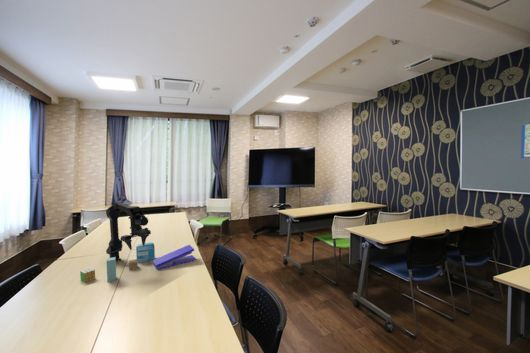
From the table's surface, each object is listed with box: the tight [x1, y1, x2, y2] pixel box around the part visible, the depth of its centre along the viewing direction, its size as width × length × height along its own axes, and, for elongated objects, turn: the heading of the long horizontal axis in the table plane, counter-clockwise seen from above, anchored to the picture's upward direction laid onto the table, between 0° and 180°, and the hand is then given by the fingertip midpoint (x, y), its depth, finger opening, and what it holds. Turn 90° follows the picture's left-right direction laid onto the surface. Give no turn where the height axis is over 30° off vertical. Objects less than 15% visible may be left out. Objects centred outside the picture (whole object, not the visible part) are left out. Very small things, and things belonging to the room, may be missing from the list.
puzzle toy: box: [79, 267, 96, 283], centre depth 150 cm, size 6×6×6 cm
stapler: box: [152, 244, 198, 271], centre depth 175 cm, size 12×28×10 cm, turn 126°
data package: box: [135, 242, 156, 263], centre depth 180 cm, size 12×4×12 cm, turn 120°
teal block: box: [106, 257, 117, 282], centre depth 150 cm, size 4×4×13 cm
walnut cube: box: [128, 258, 139, 271], centre depth 166 cm, size 5×5×5 cm
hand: (137, 247), depth 166 cm, fingers open, 9 cm apart
